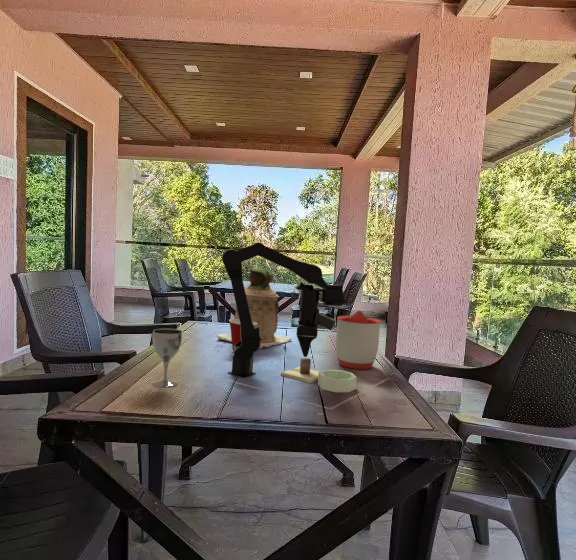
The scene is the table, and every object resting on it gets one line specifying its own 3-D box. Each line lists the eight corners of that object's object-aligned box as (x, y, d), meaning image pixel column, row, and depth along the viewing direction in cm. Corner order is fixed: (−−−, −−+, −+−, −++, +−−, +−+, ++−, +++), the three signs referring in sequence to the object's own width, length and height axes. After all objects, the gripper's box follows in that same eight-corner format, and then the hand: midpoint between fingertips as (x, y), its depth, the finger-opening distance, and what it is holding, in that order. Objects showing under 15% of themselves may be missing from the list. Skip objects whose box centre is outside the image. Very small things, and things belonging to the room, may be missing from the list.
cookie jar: (263, 350, 182) (269, 268, 180) (213, 340, 193) (218, 264, 191) (293, 341, 203) (298, 268, 201) (246, 332, 215) (251, 264, 213)
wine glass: (149, 380, 132) (151, 328, 131) (177, 379, 135) (180, 328, 134) (151, 388, 125) (154, 333, 124) (181, 387, 128) (184, 333, 127)
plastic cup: (259, 355, 172) (261, 323, 172) (231, 355, 168) (233, 323, 168) (250, 348, 182) (252, 318, 182) (223, 348, 178) (225, 318, 178)
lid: (310, 382, 139) (311, 365, 139) (280, 375, 145) (281, 358, 145) (328, 375, 148) (329, 359, 148) (299, 368, 155) (300, 353, 154)
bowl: (344, 395, 130) (345, 381, 130) (312, 387, 136) (313, 374, 136) (359, 387, 139) (360, 374, 139) (329, 380, 144) (330, 368, 144)
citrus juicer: (379, 362, 173) (383, 309, 172) (375, 374, 156) (380, 315, 155) (338, 357, 177) (341, 305, 176) (329, 367, 160) (334, 310, 159)
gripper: (336, 310, 136) (332, 362, 137) (334, 303, 154) (330, 349, 155) (298, 307, 136) (294, 359, 137) (300, 300, 155) (297, 346, 156)
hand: (305, 353), depth 146 cm, fingers open, 9 cm apart
